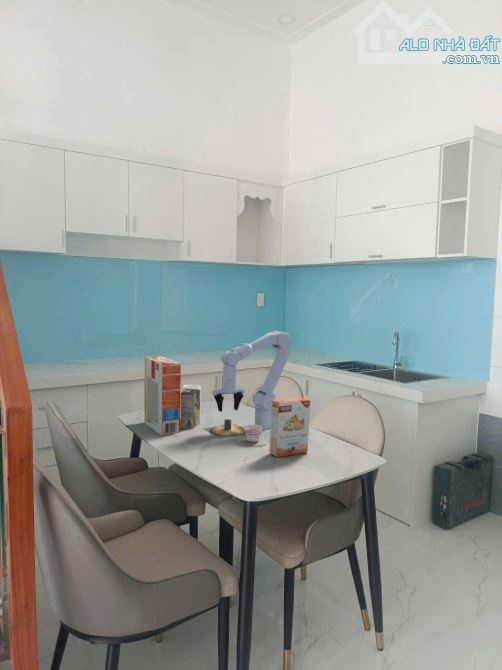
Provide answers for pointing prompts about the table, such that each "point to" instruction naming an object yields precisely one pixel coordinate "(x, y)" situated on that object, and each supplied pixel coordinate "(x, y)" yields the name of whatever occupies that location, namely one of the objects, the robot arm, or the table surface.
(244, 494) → the table surface
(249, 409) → the table surface
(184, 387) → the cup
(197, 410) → the coffee box
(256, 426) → the teacup
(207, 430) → the mat
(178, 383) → the pasta box
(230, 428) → the lid
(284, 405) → the cracker box
